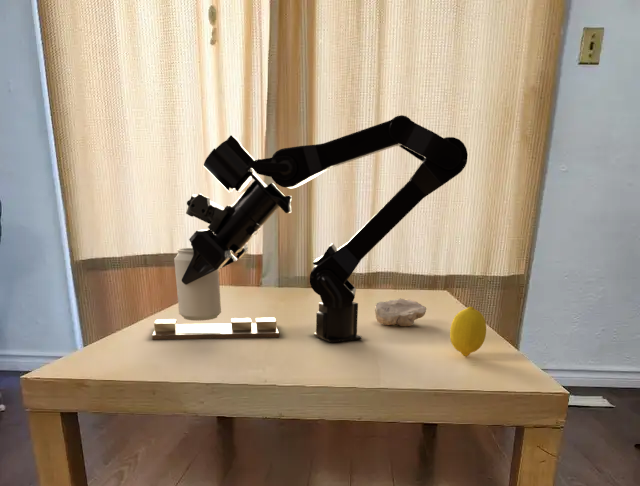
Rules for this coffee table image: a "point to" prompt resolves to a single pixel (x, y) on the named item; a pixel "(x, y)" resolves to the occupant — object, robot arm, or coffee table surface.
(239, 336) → the word board
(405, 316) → the whitish grey lumpy stone
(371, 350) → the coffee table surface
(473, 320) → the lemon
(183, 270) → the can
